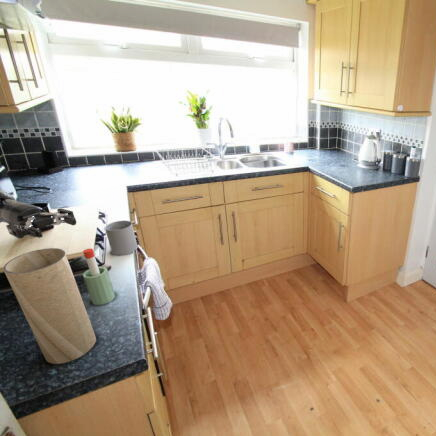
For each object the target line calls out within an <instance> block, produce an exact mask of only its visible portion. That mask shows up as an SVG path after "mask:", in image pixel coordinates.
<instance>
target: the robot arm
mask: <svg viewBox="0 0 436 436" xmlns="http://www.w3.org/2000/svg"><path fill="white" fill-rule="evenodd" d="M0 223H6V224H7V225H5V227H6V229H7V232H8V233H9V235H10V236H13V237H15V238H17V239H23V238H25V236H27V237H32V238H38V239H40V238H43V233H42V230H41V229H43V228H46V227H50V226H59V225H61V224H67V225H71V226H76V225H77V220H76V217H75V214H74V211H73V210H69V209H65V208H57V209H56V212H48V211H46V210H45V209H43V208H42V207H40V206H36V205H33V204H30V203H26V202H21V201H18V200H17V199H16V197H15V196H14V195H12V194H11V193H9V192H7V191H5V190H2V189H0Z"/></svg>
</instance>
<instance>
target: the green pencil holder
mask: <svg viewBox="0 0 436 436" xmlns="http://www.w3.org/2000/svg"><path fill="white" fill-rule="evenodd" d="M98 269H99V272H100V275H97V276H93V277H92V276H91V273H90V270H89V269H87V270H85V271H84V272H83V274H82V278H83V281H84V283H85V286H86V289H87V292H88V295H89V298H90V301H91V303H92V304H93V305H94V306H101V305H102V306H103V305H105V304H108V303H110V302H112V301H113V300H114V299H115V296H116V294H115V290H114V287H113V285H112V281H111V277H110V274H109V272H108V268H107V267H106V266H98Z"/></svg>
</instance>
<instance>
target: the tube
mask: <svg viewBox="0 0 436 436" xmlns="http://www.w3.org/2000/svg"><path fill="white" fill-rule="evenodd" d="M71 267H72V266H71V265H70V262H69V260H68V257H67V254H66V251H64V249H62V248H56V247H49V248H41V249H36V250H32V251H28V252H25V253H23V254H20V255H18V256H15V257H14V258H12V259H10V260H8V261H7V262H6V263H4V265H3V272H4V274H5V277H6V278H7V281H8V283H9V284H10V287H11V289H12V292H13V294H14V295H15V297H16V300H17V302H18V304H19V307H20V309H21V310H22V313H23V315H24V317H25V319H26V321H27V323H28V324H29V327H30V329H31V331H32V333H33V336H34V338H35V340H36V342H37V344H38V346H39V348H40V351H41V353H42V355H43V357H44V359H45V361H46V362H47V363H49V364H52V365H61V364H66V363H70V362H72V361H75V360H77V359H79V358H81V357H82V356H84V355H86V354H87V353H88V352H89V351H91V349H92V348H94V345H95V344H96V342H97V337H96V334H95V331H94V328H93V325H92V323H91V320H90V317H89V314H88V312H87V309H86V306H85V304H84V301H83V299H82V295H81V292H80V289H79V287H78V284H77V281H76V279H75V276H74V274H73V270H72V268H71Z"/></svg>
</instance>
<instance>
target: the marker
mask: <svg viewBox="0 0 436 436" xmlns="http://www.w3.org/2000/svg"><path fill="white" fill-rule="evenodd" d="M82 253H83V256H84V259H85V260H86V263H87V267H88V270H90V273H91V276H92V277H93V276H97V275H100V272H99V269H98V267H99V265H98V262H97V259H96V255H95V252H94V249H93V248H86V249H84V250H83V251H82Z"/></svg>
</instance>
